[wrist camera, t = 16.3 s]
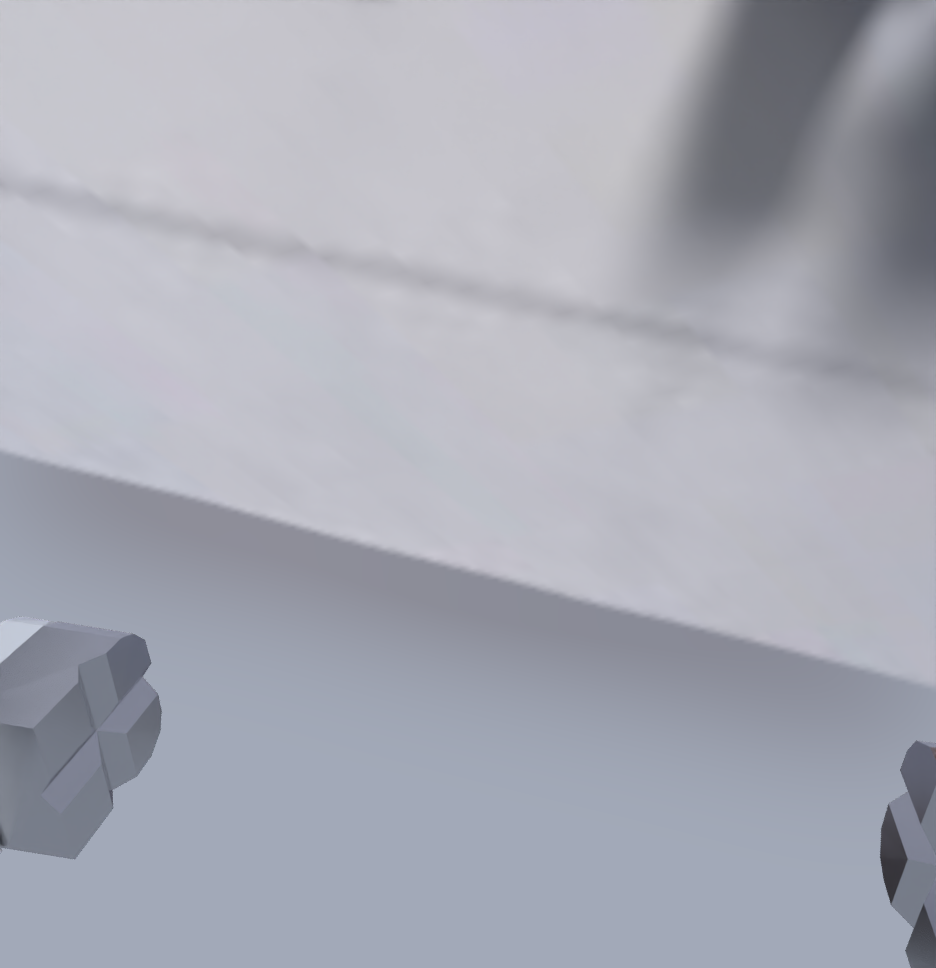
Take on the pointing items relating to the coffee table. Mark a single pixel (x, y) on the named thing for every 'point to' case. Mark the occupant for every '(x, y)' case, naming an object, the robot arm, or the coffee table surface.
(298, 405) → the coffee table surface
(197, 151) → the coffee table surface
